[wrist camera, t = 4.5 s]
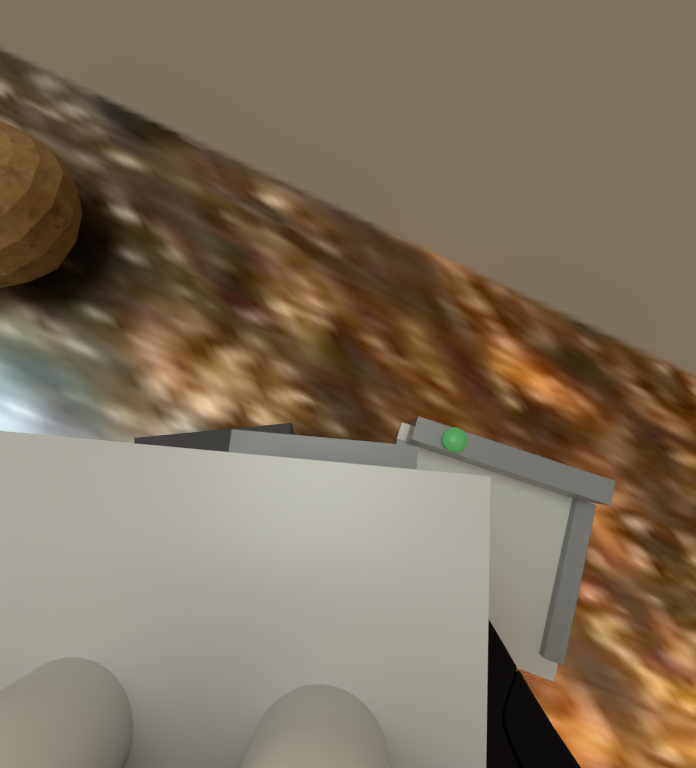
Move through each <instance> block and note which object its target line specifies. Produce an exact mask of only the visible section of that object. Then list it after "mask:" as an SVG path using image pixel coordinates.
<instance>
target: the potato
mask: <svg viewBox="0 0 696 768" xmlns="http://www.w3.org/2000/svg"><path fill="white" fill-rule="evenodd" d="M81 218H82V209H81V203H80V198H79V192H78V189H77V187H76V185H75V183H74V181H73V179H72V177H71V175H70V173H69V171H68V169H67V167H66V166H65V165H64V164H63V163H62V162H61V160H60V159H59V158H58V157H57V156H56V154H55V153H54V152H53V151H52V150H51V149H50V148H48V147H47V146H45V145H44V144H42V143H41V142H39V141H38V140H36V139H35V138H33V137H32V136H31V135H29V134H27V133H25V132H23V131H21V130H19V129H17V128H15V127H13V126H11V125H9V124H7V123H5V122H2V121H0V288H2V287H7V286H12V285H17V284H23V283H27V282H30V281H32V280H35V279H37V278H40V277H42V276H44V275H46V274H48V273H50V272H52V271H54V270H56V269H58V268H59V267H60V265H61V264H62V262H63V261H64V260H65V258H66V257H67V255H68V254H69V252H70V251H71V249H72V247H73V246H74V244H75V242H76V241H77V236H78V232H79V227H80V222H81Z"/></svg>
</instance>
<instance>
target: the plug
mask: <svg viewBox="0 0 696 768" xmlns="http://www.w3.org/2000/svg"><path fill="white" fill-rule="evenodd" d="M417 452H418V446H411V445H400V444H389V443H378V442H367V441H356V440H345V439H334V438H323V437H312V436H300V435H289V434H278V433H267V432H256V431H245V430H234V429H232V432H231V439H230V446H229V452H222V451H211V450H200V449H189V448H179V447H168V446H157V445H146V444H135V443H125V442H114V441H103V440H92V439H81V438H70V437H60V436H49V435H38V434H27V433H16V432H6V431H0V768H486V747H487V682H488V617H489V551H490V486H491V476H481V475H470V474H459V473H449V472H438V471H427V470H417Z"/></svg>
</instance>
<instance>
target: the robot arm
mask: <svg viewBox="0 0 696 768" xmlns="http://www.w3.org/2000/svg"><path fill="white" fill-rule="evenodd" d="M516 669H517V666H516V664H515V663H514V661H513V659H512V657H511V656H510V654H509V652H508V651H507V649H506V647H505V645H504V644H503V642H502V640H501V639H500V637H499V635H498V634H497V632H496V630H495V628H494V627H493V625H492V623H491V622H490V620H489V618H488V682H487V747H486V768H581V767H580V766H579V764H578V763H577V761H576V760H575V758H574V757H573V755H572V754H571V752H570V751H569V749H568V748H567V746H566V745H565V743H564V742H563V740H562V739H561V737H560V736H559V734H558V733H557V732H556V730H555V729H554V727H553V726H552V724H551V722H550V721H549V719H548V717H547V716H546V714H545V713H544V711H543V709H542V708H541V706H540V704H539V703H538V701H537V700H536V698H535V696H534V695H533V693H532V691H531V690H530V688H529V686H528V684H527V683H526V681H525V679H524V678H523V676H522V674H521V672H520V671H516Z"/></svg>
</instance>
